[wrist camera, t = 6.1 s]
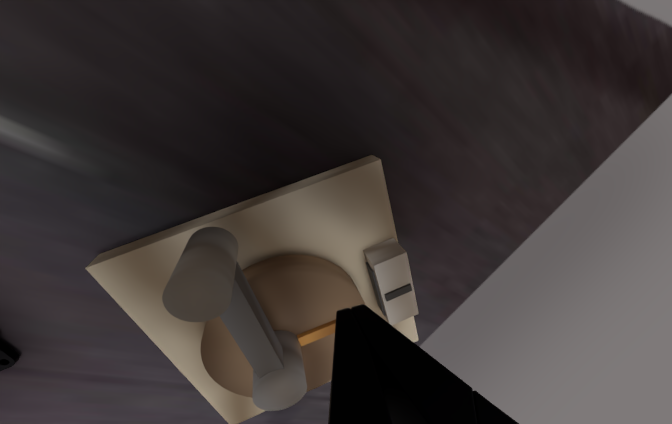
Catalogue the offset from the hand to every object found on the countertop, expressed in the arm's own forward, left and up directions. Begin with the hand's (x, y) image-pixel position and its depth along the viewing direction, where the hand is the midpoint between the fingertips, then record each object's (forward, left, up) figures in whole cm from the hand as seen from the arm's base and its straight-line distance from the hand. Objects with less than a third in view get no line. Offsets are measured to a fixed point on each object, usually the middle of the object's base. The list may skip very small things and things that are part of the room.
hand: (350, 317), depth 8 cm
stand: (-4, -8, -11) cm, 14 cm away
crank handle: (-4, -6, -10) cm, 12 cm away
